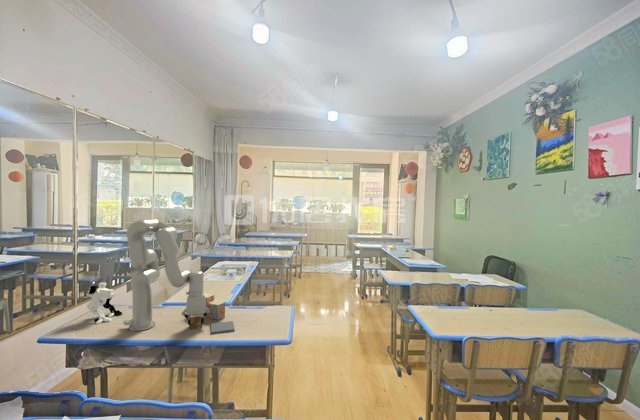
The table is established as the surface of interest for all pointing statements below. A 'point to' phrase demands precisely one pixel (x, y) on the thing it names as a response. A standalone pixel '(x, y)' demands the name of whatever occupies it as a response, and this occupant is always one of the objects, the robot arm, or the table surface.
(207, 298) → the stack of blocks
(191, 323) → the walnut cube
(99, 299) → the robot toy
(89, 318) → the table surface
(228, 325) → the mat
